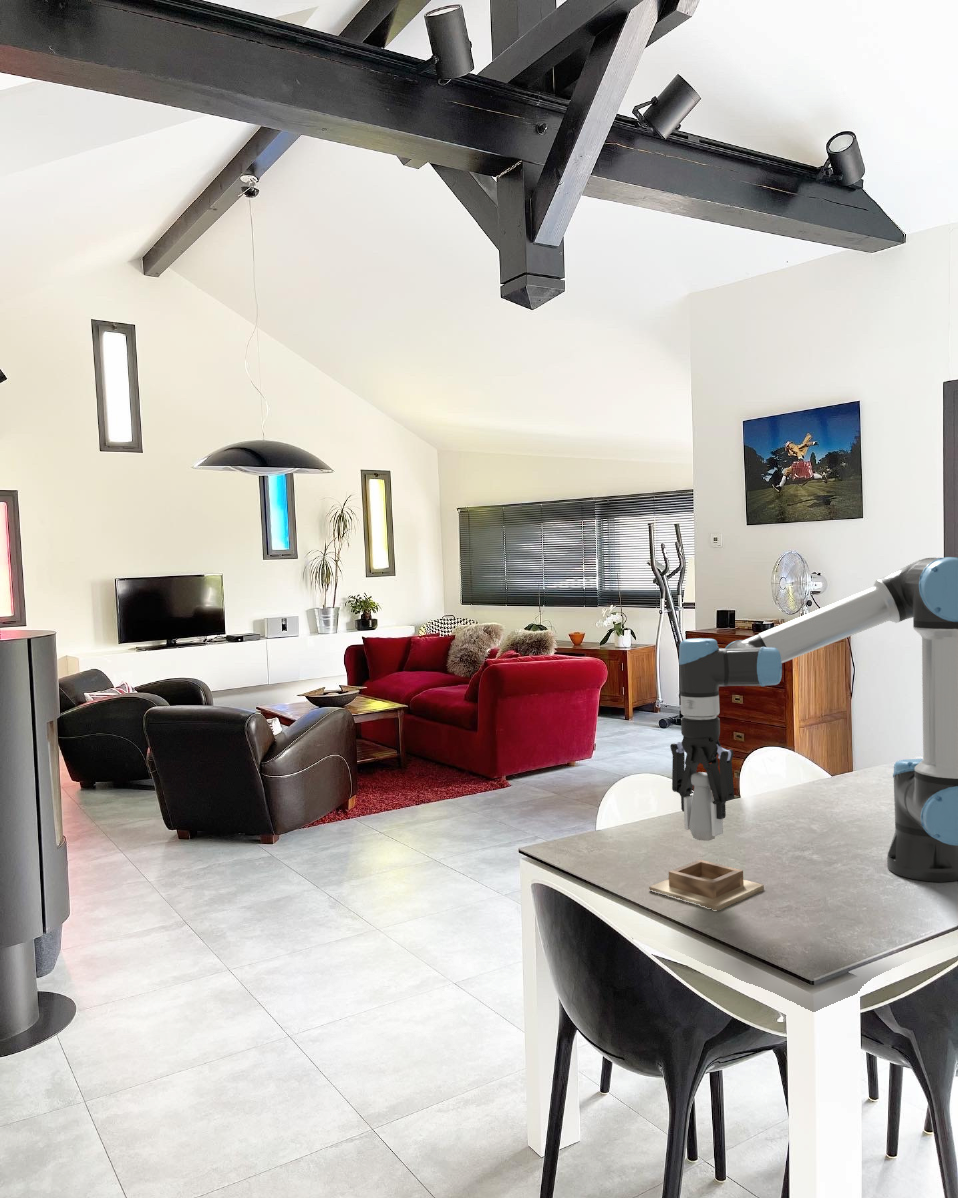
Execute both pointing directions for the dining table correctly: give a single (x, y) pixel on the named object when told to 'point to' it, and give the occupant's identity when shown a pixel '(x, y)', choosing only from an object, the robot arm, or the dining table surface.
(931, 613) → the robot arm
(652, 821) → the dining table surface
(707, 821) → the salt shaker
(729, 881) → the collar board
